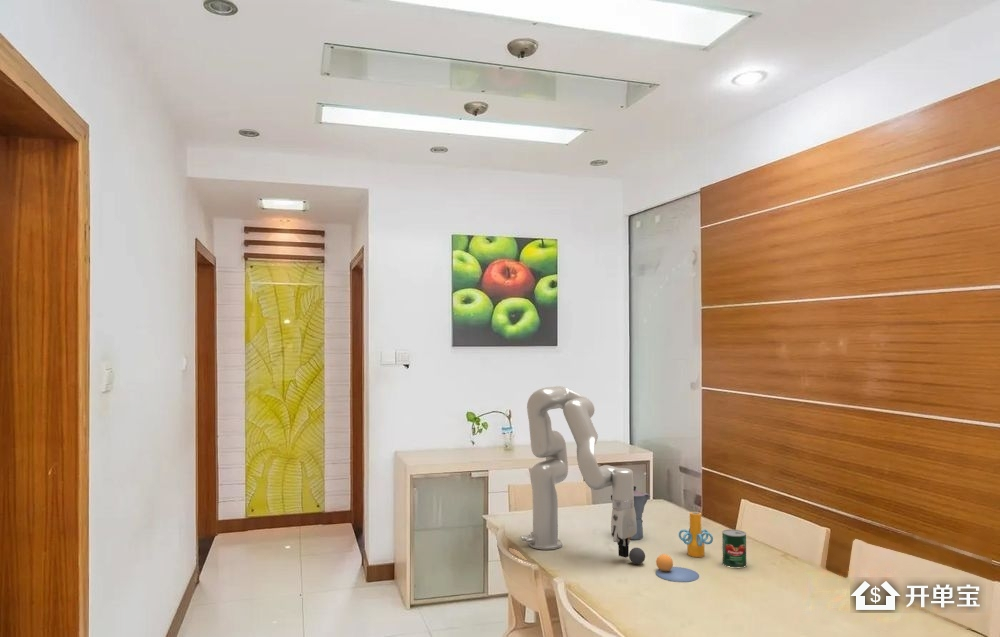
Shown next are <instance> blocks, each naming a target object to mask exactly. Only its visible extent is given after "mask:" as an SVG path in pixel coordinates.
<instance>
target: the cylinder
mask: <svg viewBox="0 0 1000 637" xmlns="http://www.w3.org/2000/svg"><path fill="white" fill-rule="evenodd" d="M683 532H684V535H683V537H682V533H683ZM687 536H688V537H687ZM704 536H705V538H704ZM686 537H687V538H686ZM678 538H679V539H680V541H682V542H683V544H684V545H686V547H687V548H686V550H687V552H686V553H687V556H689V557H692V558H703V557H705V553H706V552H705V545H711V544H712V543H713V541H714V536H713V535H712V534H711V533H710V532H708V530H707V529H702V513H701V512H698V511H691V512H689V528H688V530H687V529H681V530H679V532H678ZM708 538H710V541H707V540H708Z"/></svg>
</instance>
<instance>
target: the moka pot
mask: <svg viewBox="0 0 1000 637" xmlns="http://www.w3.org/2000/svg"><path fill="white" fill-rule="evenodd" d="M650 497H651V494H649V493H648V492H647V493H646V492H643V491H641V490H637V486H635V485H634V508H635V513H636V523H637V533H636V534H635V535H634V536H632V537H631V538H630V540H642V539H643V538H644V530H643V529H644V528H643V513H644V511H645V510H644V509H645V506H646V505H647V502H648V500H649V498H650ZM610 500H611V501H612V494H610Z"/></svg>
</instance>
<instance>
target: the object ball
mask: <svg viewBox="0 0 1000 637" xmlns="http://www.w3.org/2000/svg"><path fill="white" fill-rule="evenodd" d="M655 562H656V563H655V565H656V567H657V568H658V569H660V570H661V571H664V572H667V571H669V570H671V568H672V567H674V561H673V559H672V558H671V556H669V555H668V554H665V553H663V554H660V555H658V557H657V558H656V560H655Z"/></svg>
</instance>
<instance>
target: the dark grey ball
mask: <svg viewBox="0 0 1000 637" xmlns="http://www.w3.org/2000/svg"><path fill="white" fill-rule="evenodd" d="M645 554H646V553H645V552H644V550H643V549H642V548H640V547H633V548H632V549H631V550H629V556H628V557H629V561H630V562H631V563H632V564H635V565H641V564H643V562H644V561H645V558H646V555H645Z"/></svg>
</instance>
